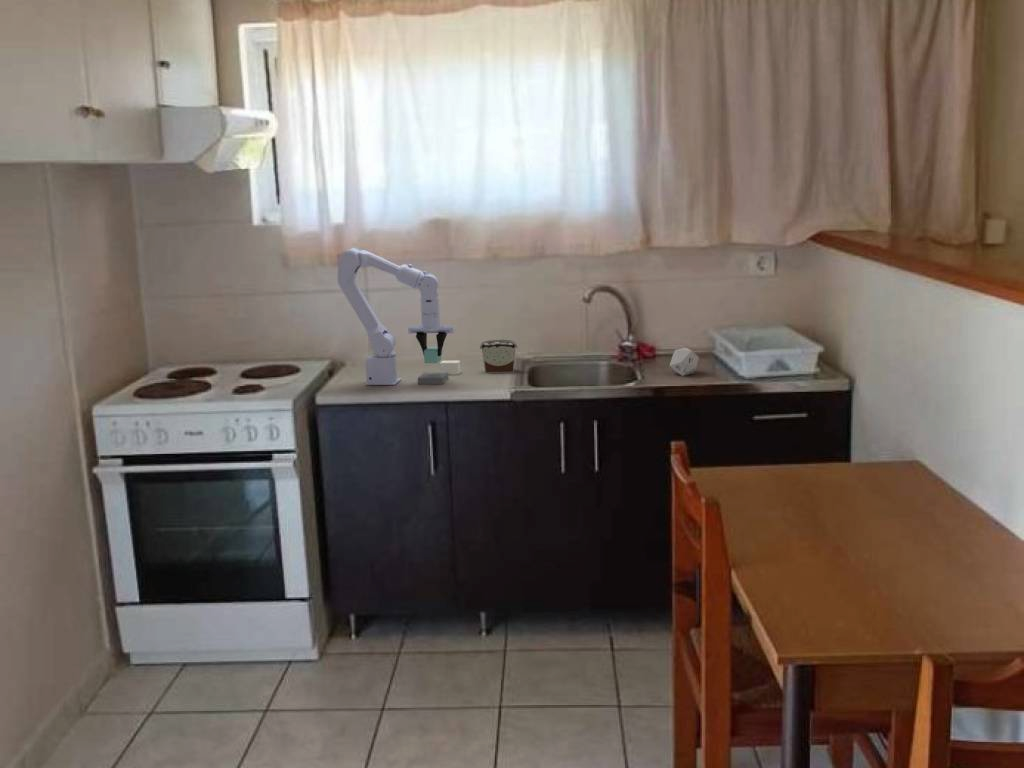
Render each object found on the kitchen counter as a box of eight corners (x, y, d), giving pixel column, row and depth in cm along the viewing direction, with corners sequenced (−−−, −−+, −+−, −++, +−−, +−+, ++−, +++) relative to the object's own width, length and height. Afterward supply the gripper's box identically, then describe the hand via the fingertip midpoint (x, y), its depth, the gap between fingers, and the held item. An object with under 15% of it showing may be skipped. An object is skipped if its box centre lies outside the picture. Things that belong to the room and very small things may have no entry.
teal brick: (424, 363, 321) (423, 350, 320) (429, 359, 327) (428, 347, 326) (436, 363, 320) (436, 350, 319) (441, 359, 326) (440, 346, 325)
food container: (519, 368, 339) (518, 338, 337) (518, 372, 334) (517, 342, 331) (483, 368, 341) (482, 339, 338) (480, 372, 335) (479, 343, 332)
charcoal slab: (418, 385, 322) (417, 378, 321) (424, 379, 329) (423, 372, 329) (442, 385, 320) (442, 378, 320) (448, 379, 328) (447, 372, 328)
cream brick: (440, 374, 334) (439, 363, 334) (443, 372, 338) (442, 360, 337) (458, 374, 334) (457, 362, 333) (460, 372, 337) (460, 360, 337)
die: (666, 378, 321) (681, 356, 315) (663, 359, 328) (678, 337, 322) (690, 385, 323) (705, 363, 317) (687, 366, 330) (702, 345, 324)
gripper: (404, 315, 317) (407, 358, 320) (450, 315, 315) (452, 358, 318) (410, 311, 324) (412, 353, 327) (455, 311, 322) (457, 353, 325)
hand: (432, 355), depth 323 cm, fingers closed on teal brick, 4 cm apart
